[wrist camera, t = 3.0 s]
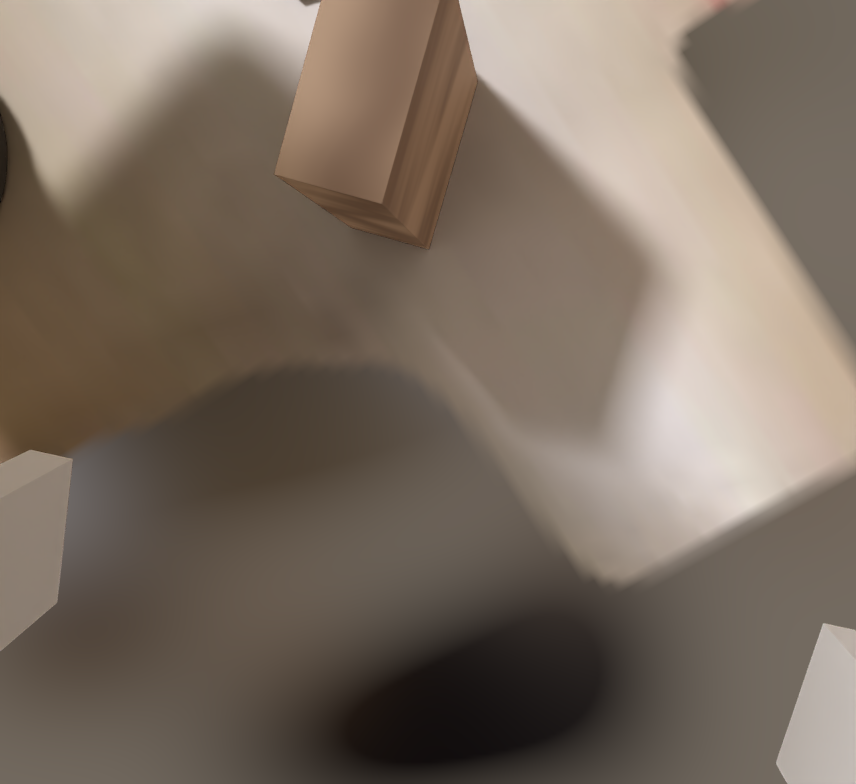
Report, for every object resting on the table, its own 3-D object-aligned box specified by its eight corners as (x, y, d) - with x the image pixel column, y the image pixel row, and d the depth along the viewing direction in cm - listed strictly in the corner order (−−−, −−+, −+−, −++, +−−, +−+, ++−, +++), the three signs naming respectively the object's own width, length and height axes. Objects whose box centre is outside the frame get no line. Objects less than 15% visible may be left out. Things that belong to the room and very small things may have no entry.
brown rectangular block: (351, 227, 41) (273, 174, 30) (404, 37, 41) (347, -97, 29) (428, 249, 41) (381, 203, 29) (484, 56, 40) (460, -72, 28)
